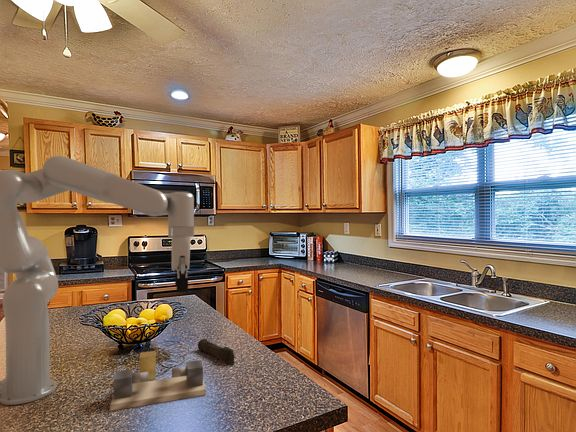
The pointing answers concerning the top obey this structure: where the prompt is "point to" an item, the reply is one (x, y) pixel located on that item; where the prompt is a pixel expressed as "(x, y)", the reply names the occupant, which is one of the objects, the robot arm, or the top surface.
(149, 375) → the yellow rectangular block
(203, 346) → the hand tool
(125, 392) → the shaft mount
